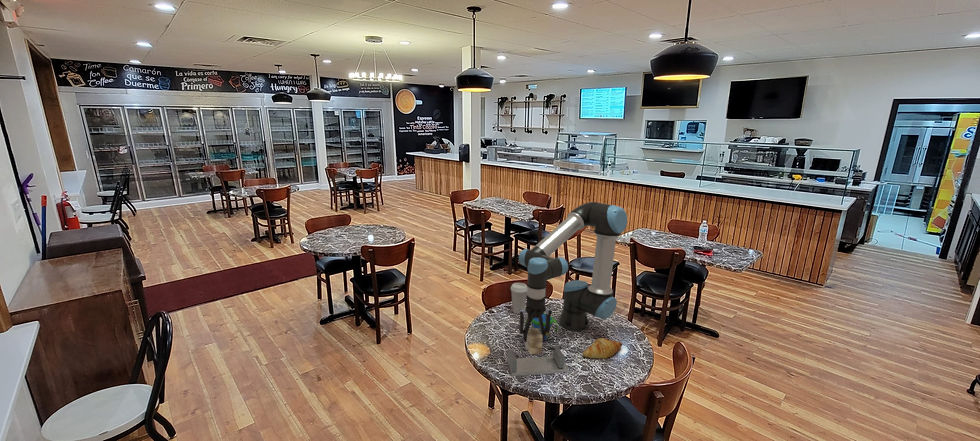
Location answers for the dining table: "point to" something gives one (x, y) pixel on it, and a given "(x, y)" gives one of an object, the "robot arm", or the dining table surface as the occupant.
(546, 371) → the vise bed
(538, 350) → the block
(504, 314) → the dining table surface
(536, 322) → the snack cup
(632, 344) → the dining table surface
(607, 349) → the croissant
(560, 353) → the sliding jaw
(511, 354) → the fixed jaw
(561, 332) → the dining table surface
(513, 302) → the coffee cup
